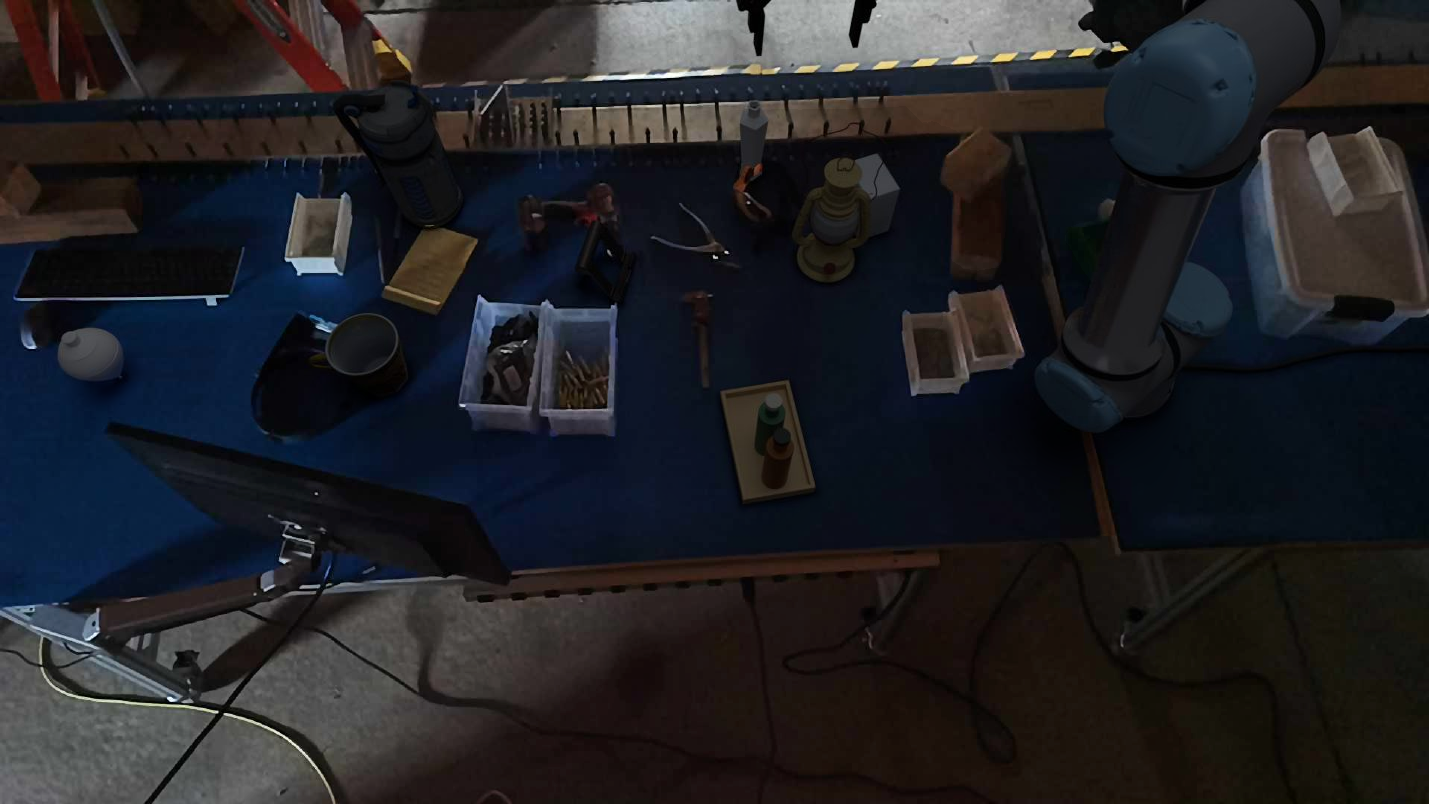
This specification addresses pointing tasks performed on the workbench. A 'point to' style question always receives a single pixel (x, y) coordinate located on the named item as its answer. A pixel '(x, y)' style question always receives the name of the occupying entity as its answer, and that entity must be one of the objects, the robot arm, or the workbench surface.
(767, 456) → the amber bottle
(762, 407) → the green bottle
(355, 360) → the ceramic cup
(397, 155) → the beverage bottle
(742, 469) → the tray
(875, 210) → the small box
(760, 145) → the perfume bottle
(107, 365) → the spinning top
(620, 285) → the tablet stand
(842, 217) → the lantern
